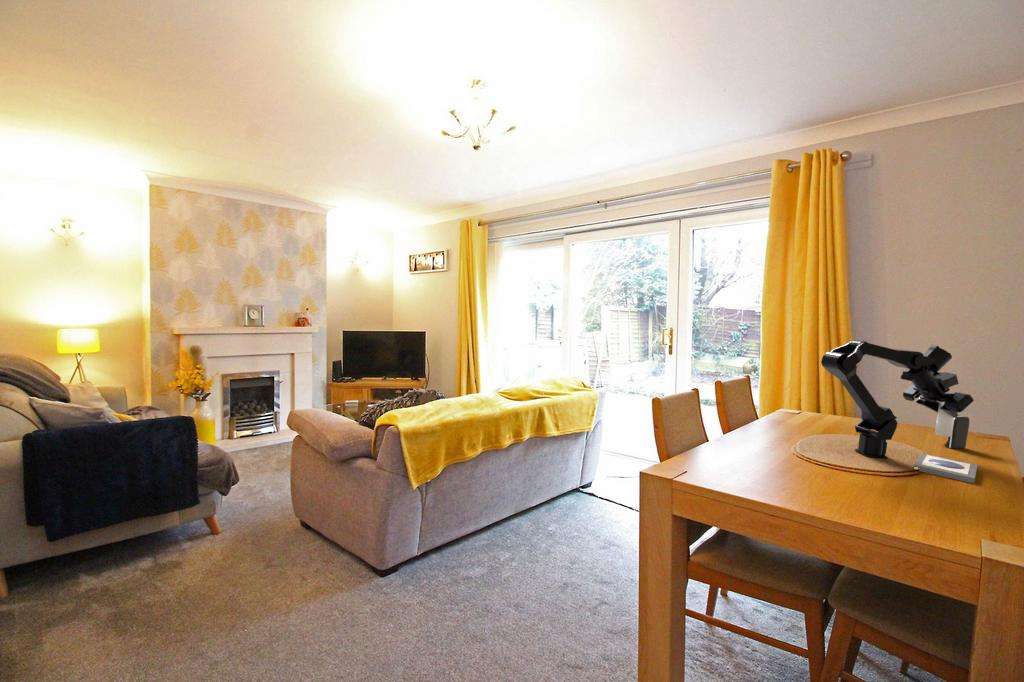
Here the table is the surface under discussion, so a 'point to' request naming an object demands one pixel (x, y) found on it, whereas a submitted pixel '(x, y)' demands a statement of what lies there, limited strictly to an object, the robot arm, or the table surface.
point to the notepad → (947, 467)
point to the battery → (958, 432)
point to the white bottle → (943, 422)
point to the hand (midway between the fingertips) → (949, 415)
